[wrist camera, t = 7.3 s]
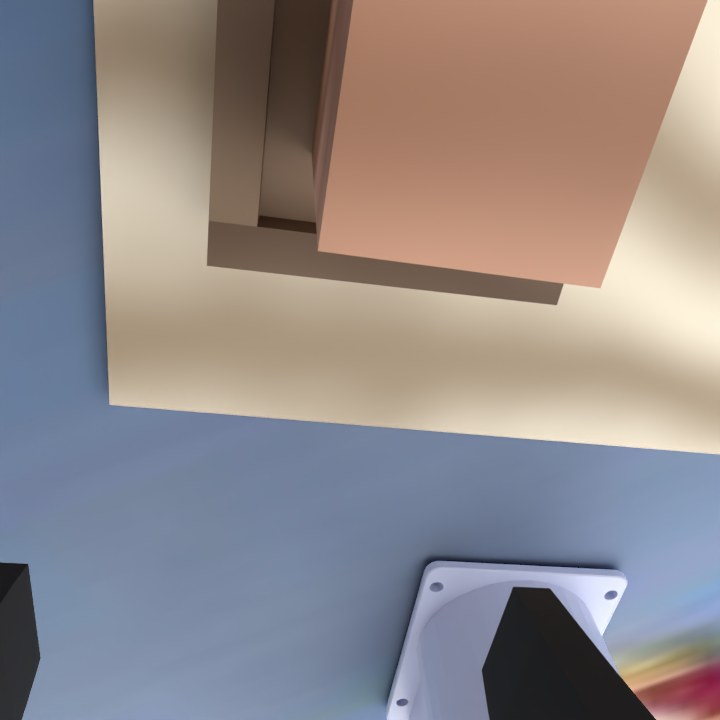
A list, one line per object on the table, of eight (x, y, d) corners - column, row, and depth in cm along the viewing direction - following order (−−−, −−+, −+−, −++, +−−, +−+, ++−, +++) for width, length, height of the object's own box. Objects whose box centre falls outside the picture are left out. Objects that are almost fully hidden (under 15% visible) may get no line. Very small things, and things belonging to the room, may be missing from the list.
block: (491, 182, 14) (600, 288, 9) (311, 154, 14) (317, 251, 8) (545, -26, 12) (723, -43, 7) (340, -68, 12) (369, -122, 7)
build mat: (837, 454, 23) (926, 530, 20) (114, 394, 20) (76, 474, 16) (1237, -179, 15) (1511, -231, 11) (83, -491, 11) (-11, -701, 8)
